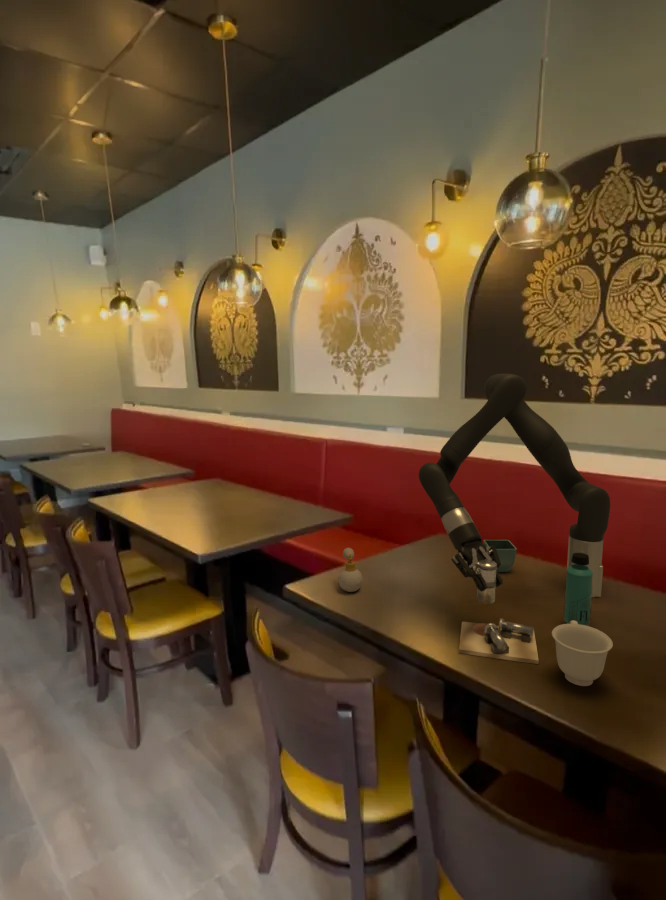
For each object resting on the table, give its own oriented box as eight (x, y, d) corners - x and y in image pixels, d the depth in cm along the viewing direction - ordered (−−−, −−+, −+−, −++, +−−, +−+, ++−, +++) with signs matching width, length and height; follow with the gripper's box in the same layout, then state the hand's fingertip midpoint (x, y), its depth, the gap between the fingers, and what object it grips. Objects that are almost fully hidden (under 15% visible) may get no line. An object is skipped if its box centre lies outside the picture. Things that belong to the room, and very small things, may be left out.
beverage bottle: (578, 635, 133) (583, 561, 130) (556, 623, 139) (561, 552, 136) (595, 628, 136) (601, 556, 133) (573, 618, 142) (578, 548, 139)
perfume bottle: (346, 597, 157) (345, 559, 155) (330, 585, 165) (330, 549, 163) (367, 591, 160) (367, 554, 158) (351, 580, 169) (350, 545, 167)
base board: (533, 633, 135) (533, 629, 134) (538, 664, 121) (538, 659, 121) (461, 624, 140) (462, 620, 139) (458, 653, 126) (459, 648, 126)
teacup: (597, 659, 123) (600, 619, 121) (616, 699, 109) (620, 655, 107) (543, 653, 126) (545, 614, 124) (554, 691, 111) (557, 648, 110)
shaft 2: (498, 636, 132) (498, 621, 131) (500, 629, 135) (501, 615, 134) (531, 643, 128) (532, 628, 127) (533, 636, 131) (534, 622, 131)
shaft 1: (483, 637, 131) (483, 623, 131) (497, 636, 131) (497, 622, 131) (494, 655, 123) (495, 640, 123) (509, 654, 124) (510, 639, 123)
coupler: (495, 597, 135) (497, 560, 133) (495, 605, 131) (497, 567, 129) (476, 594, 136) (478, 558, 135) (476, 602, 132) (477, 565, 130)
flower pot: (516, 574, 171) (517, 548, 169) (489, 575, 171) (490, 549, 170) (507, 564, 180) (508, 539, 178) (482, 564, 180) (482, 539, 178)
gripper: (446, 526, 133) (478, 588, 125) (488, 517, 140) (521, 575, 132) (433, 539, 139) (462, 600, 130) (473, 530, 145) (504, 587, 137)
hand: (492, 587), depth 131 cm, fingers closed on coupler, 4 cm apart
